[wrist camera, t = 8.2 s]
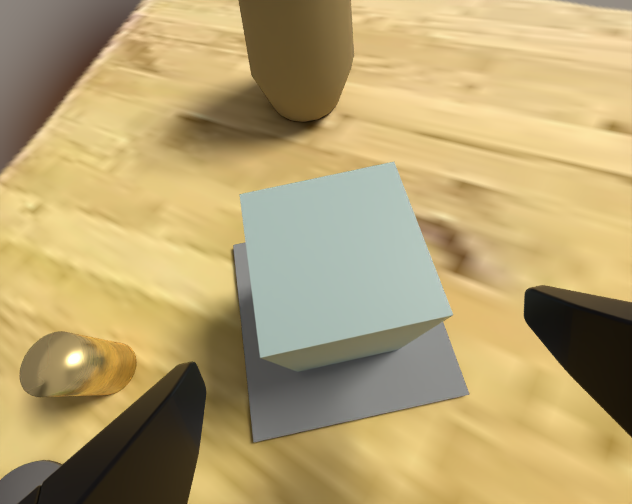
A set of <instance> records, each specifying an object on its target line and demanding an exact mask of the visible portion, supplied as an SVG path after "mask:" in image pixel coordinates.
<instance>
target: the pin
mask: <svg viewBox="0 0 632 504" xmlns="http://www.w3.org/2000/svg"><path fill="white" fill-rule="evenodd" d="M135 369H136V356H135V353H134V351H133V350H132V349H131V348H130V347H129V346H128V345H126V344H123V343H118V342H113V341H108V340H103V339H98V338H93V337H88V336H83V335H78V334H73V333H68V332H54V333H51V334H48V335H46V336H44V337H42V338H41V339H40V340H38V341H37V342H36V343H35V344H34V345H33V346H32V347H31V348H30V349H29V351H28V352H27V354H26V355H25V357H24V359H23V361H22V364H21V368H20V382H21V385H22V387H23V389H24V390H25V391H26V392H27V393H28V394H30V395H32V396H35V397H57V396H88V395H110V394H114V393H116V392H118V391H120V390H121V389H123V388H124V387H125V386H126V385H127V384H128V383H129V382H130V380H131V379H132V377H133V375H134V372H135Z"/></svg>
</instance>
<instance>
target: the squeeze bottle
mask: <svg viewBox="0 0 632 504" xmlns="http://www.w3.org/2000/svg"><path fill="white" fill-rule="evenodd" d="M239 6H240V12H241V17H242V23H243V29H244V35H245V41H246V46H247V52H248V58H249V64H250V70H251V75H252V77H253V78H254V80H255V81H256V83H257V84H258V85H259V87H260V88H261V90H262V91H263V93H264V94H265V96H266V97H267V98H268V100H269V101H270V103H271V104H272V106H273V107H274V108H275V110H276V111H277V112H278V113H279V114H280V115H281V116H283V117H285V118H287V119H289V120H292V121H302V122H306V121H311V120H316V119H319V118H321V117H323V116H325V115H327V114H328V113H330V112H331V111H332V110H333V108H334V107H335V106H336V105H337V103H338V101H339V98H340V95H341V93H342V90H343V88H344V85H345V83H346V80H347V78H348V75H349V72H350V70H351V66H352V62H353V57H354V46H353V29H352V12H351V0H239Z"/></svg>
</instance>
